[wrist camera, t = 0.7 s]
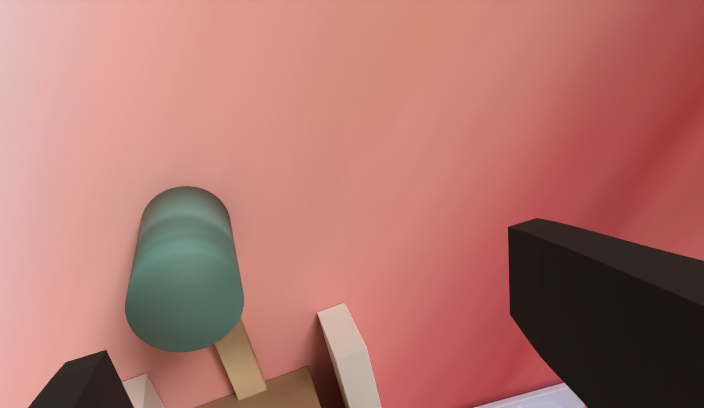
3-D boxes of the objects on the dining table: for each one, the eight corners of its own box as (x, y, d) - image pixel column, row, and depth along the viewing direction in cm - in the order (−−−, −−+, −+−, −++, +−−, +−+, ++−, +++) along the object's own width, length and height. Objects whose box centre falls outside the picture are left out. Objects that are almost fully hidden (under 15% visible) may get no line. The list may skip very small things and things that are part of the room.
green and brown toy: (332, 441, 24) (372, 570, 19) (229, 483, 23) (242, 631, 18) (243, 167, 18) (267, 246, 12) (95, 210, 17) (53, 316, 11)
